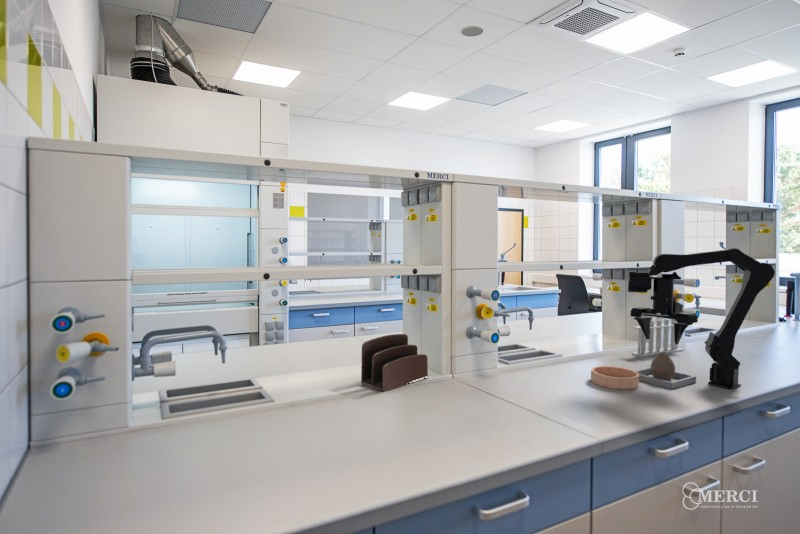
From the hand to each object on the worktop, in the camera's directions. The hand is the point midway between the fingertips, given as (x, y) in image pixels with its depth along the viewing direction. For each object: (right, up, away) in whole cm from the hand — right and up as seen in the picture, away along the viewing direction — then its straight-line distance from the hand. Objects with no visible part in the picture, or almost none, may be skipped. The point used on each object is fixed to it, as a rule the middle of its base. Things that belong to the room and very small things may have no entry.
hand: (662, 341), depth 153 cm
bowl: (-17, -12, -4) cm, 21 cm away
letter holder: (-85, -12, -4) cm, 86 cm away
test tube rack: (+19, -10, +37) cm, 43 cm away
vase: (0, -12, -1) cm, 12 cm away
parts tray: (0, -12, -1) cm, 12 cm away
